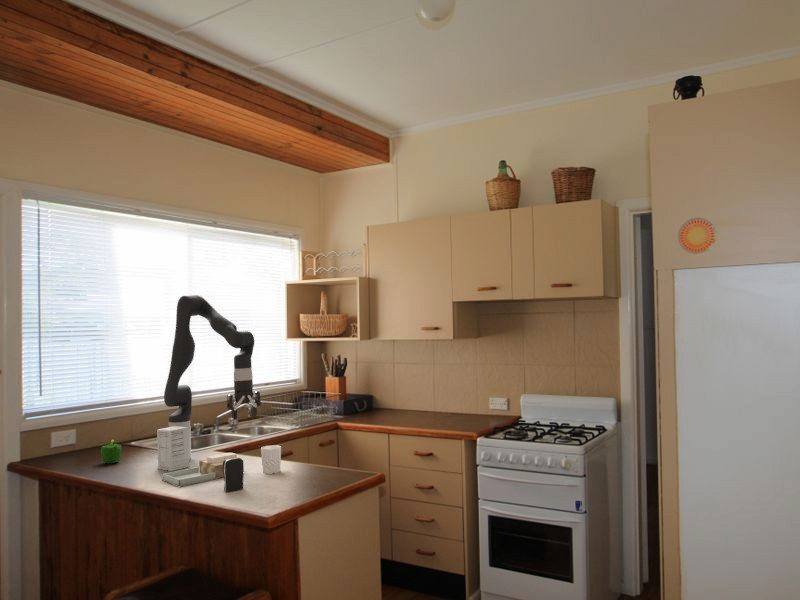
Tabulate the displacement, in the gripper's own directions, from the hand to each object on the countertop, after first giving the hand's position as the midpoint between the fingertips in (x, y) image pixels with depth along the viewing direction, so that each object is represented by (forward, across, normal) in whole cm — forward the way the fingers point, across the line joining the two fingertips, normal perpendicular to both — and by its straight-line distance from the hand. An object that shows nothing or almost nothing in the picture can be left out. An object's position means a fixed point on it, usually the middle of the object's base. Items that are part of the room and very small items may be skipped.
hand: (244, 418), depth 260 cm
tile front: (+16, +13, 0) cm, 21 cm away
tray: (+20, +25, 0) cm, 32 cm away
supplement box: (+20, +20, -25) cm, 38 cm away
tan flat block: (+21, +11, 0) cm, 23 cm away
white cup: (+21, -3, +15) cm, 26 cm away
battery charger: (+21, +21, +28) cm, 41 cm away
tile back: (+16, +8, 0) cm, 17 cm away
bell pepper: (+20, +34, -58) cm, 70 cm away
